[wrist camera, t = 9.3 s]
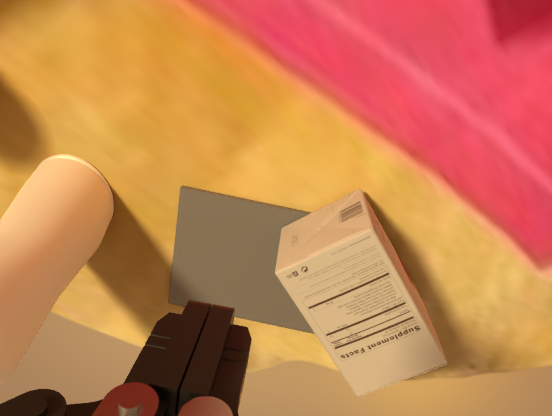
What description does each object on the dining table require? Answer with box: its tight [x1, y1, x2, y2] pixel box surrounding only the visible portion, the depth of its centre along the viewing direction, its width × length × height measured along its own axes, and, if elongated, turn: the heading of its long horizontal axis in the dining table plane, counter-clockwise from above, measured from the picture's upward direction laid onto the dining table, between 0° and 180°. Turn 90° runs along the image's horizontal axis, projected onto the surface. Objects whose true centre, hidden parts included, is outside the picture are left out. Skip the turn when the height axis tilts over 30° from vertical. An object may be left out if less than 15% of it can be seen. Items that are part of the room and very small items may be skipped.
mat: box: [168, 186, 315, 334], centre depth 45 cm, size 20×14×1 cm
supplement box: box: [275, 189, 448, 397], centre depth 39 cm, size 9×9×15 cm
